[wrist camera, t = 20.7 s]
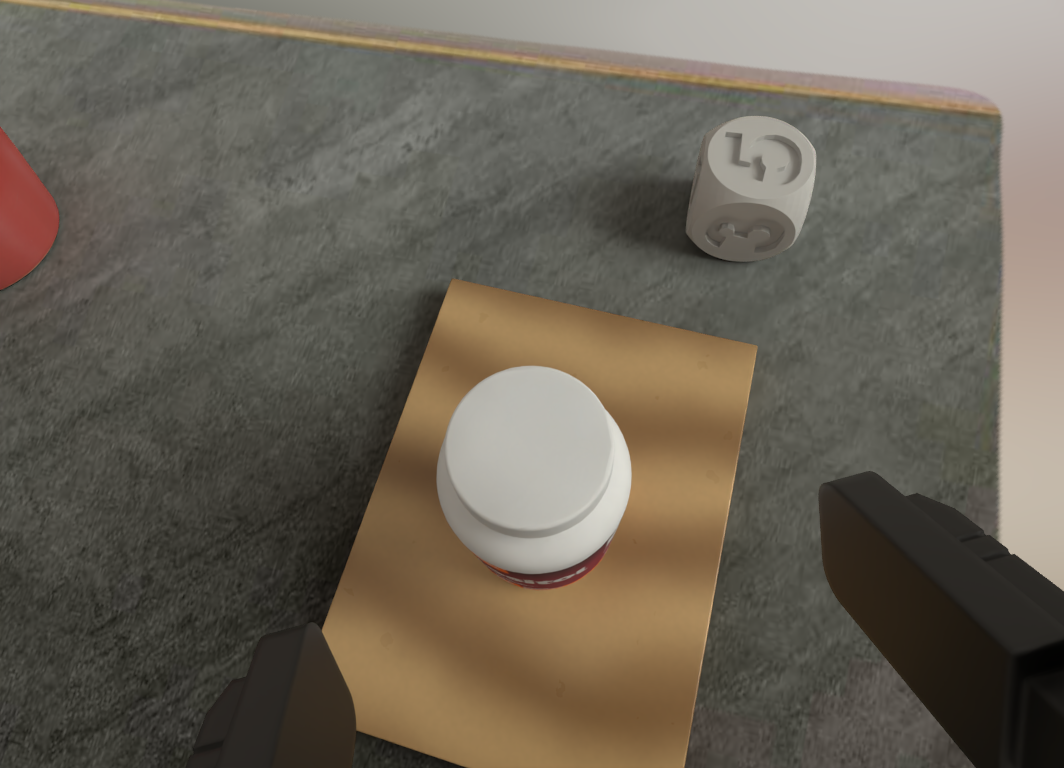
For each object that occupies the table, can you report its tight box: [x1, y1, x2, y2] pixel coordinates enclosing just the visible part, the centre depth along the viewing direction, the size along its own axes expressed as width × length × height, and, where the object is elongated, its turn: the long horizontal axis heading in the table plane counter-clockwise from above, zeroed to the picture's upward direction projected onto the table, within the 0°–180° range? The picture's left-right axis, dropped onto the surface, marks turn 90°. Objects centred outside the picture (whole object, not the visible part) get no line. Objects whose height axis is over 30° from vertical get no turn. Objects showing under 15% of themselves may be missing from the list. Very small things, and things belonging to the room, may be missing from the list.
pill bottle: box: [436, 366, 632, 590], centre depth 23 cm, size 6×6×11 cm
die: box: [686, 116, 816, 262], centre depth 32 cm, size 5×5×5 cm
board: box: [322, 279, 757, 768], centre depth 29 cm, size 20×15×2 cm
